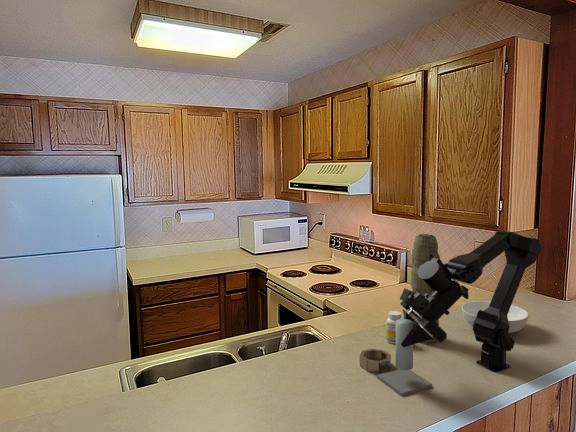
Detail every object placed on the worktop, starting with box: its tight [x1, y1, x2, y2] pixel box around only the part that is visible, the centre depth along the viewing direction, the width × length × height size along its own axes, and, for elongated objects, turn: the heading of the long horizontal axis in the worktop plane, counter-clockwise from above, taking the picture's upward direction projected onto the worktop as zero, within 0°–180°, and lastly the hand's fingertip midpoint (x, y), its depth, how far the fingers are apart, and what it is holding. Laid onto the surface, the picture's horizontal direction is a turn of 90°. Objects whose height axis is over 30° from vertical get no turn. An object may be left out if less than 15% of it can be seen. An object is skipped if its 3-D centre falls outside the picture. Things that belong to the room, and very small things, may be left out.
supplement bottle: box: [385, 310, 402, 345], centre depth 130 cm, size 5×5×10 cm
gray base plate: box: [376, 368, 433, 397], centre depth 104 cm, size 10×10×1 cm
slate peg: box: [395, 318, 414, 370], centre depth 104 cm, size 4×4×12 cm
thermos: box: [410, 233, 441, 345], centre depth 130 cm, size 9×12×35 cm
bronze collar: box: [359, 348, 392, 374], centre depth 114 cm, size 8×8×3 cm
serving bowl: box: [461, 300, 529, 334], centre depth 139 cm, size 21×21×7 cm
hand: (399, 342), depth 103 cm, fingers closed on slate peg, 4 cm apart
